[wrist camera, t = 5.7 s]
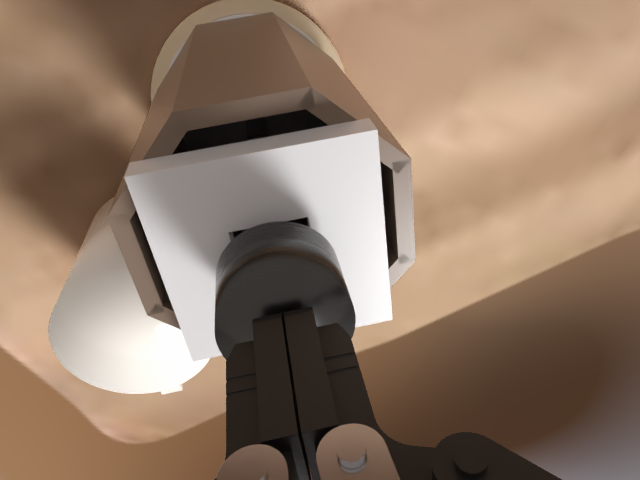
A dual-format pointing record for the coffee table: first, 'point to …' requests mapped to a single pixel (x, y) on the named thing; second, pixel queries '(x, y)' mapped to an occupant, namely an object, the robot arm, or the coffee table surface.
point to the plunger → (277, 276)
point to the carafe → (257, 165)
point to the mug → (114, 324)
